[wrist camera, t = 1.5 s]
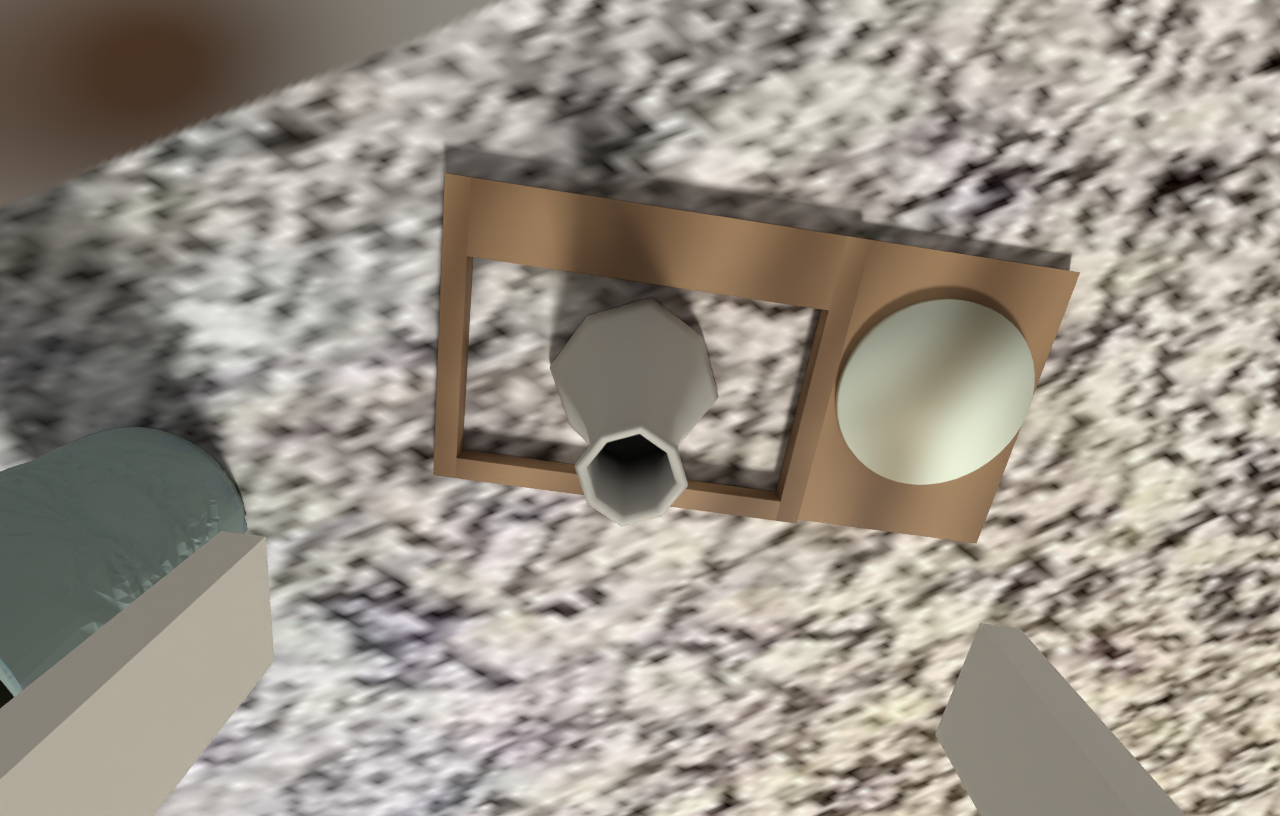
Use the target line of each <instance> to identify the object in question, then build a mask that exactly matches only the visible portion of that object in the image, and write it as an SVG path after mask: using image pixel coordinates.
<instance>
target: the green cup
mask: <svg viewBox="0 0 1280 816" xmlns="http://www.w3.org/2000/svg"><path fill="white" fill-rule="evenodd" d="M245 516H246V513H245V511H244V504H243V502H242V501H241V497H240V495H239V494H238V492H237V489H236V487H235V485H234V483H233V482H232V481H231V479H230V478H229V477H228V475H227V473H226V471H225V470H223V469H221V466H220V464H219V463H217V462H216V461H215V459H214V458H213V457H212V456H210V455H209V454H208V453H206V452H205V451H204V450H203V449H201V448H200V447H198V446H196V445H195V444H193V443H191V442H190V441H187V440H185V439H183V438H181V437H179V436H176V435H174V434H171V433H169V432H166V431H162V430H158V429H154V428H146V427H123V428H115V429H109V430H104V431H101V432H98V433H95V434H92V435H90V436H87V437H84V438H81V439H78V440H75V441H73V442H70V443H67V444H65V445H62V446H60V447H58V448H55V449H53V450H51V451H49V452H47V453H45V454H43V455H42V456H40V457H38V458H36V459H35V460H33V461H30V462H27V463H24V464H20V465H17V466H14V467H11V468H8V469H6V470H4V471H1V472H0V708H2V707H3V706H4V705H5V704H7V703H8V702H9V701H10V700H12V699H13V698H14V697H15V696H17V695H18V694H19V693H20V692H21V691H23V690H24V689H25V688H26V687H28V686H29V685H30V684H31V683H33V682H34V681H35V680H36V679H38V678H39V677H40V676H41V675H43V674H44V673H45V672H46V671H48V670H49V669H50V668H51V667H53V666H54V665H55V664H56V663H58V662H59V661H60V660H61V659H63V658H64V657H65V656H66V655H68V654H69V653H70V652H71V651H72V650H74V649H75V648H76V647H77V646H79V645H80V644H81V643H82V642H84V641H85V640H86V639H87V638H89V637H90V636H91V635H92V634H94V633H95V632H96V631H97V630H99V629H100V628H101V627H102V626H104V625H105V624H106V623H107V622H109V621H110V620H111V619H112V618H114V617H115V616H116V615H117V614H118V613H120V612H121V611H122V610H123V609H125V608H126V607H127V606H128V605H130V604H131V603H132V602H133V601H135V600H136V599H137V598H138V597H140V596H141V595H142V594H143V593H145V592H146V591H147V590H148V589H150V588H151V587H152V586H153V585H155V584H156V583H157V582H158V581H160V580H161V579H162V578H163V577H165V576H166V575H167V574H168V573H169V572H171V571H172V570H173V569H174V568H176V567H177V566H178V565H179V564H181V563H182V562H183V561H184V560H186V559H187V558H188V557H189V556H191V555H192V554H193V553H194V552H196V551H197V550H198V549H199V548H201V547H202V546H203V545H204V544H206V543H207V542H208V541H209V540H211V539H212V538H213V537H214V536H215V535H217V534H218V533H219V532H220V531H225V532H233V533H241V534H245V532H246V531H247V523H246V521H245V519H244V518H245Z"/></svg>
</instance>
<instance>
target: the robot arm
mask: <svg viewBox="0 0 1280 816" xmlns="http://www.w3.org/2000/svg"><path fill="white" fill-rule="evenodd" d="M273 662H274V652H273V637H272V623H271V608H270V593H269V578H268V564H267V549H266V536H258V535H249V534H241V533H233V532H225V531H220V532H219V533H218V534H217V535H215V536H214V537H213V538H212V539H211V540H209V541H208V542H207V543H206V544H204V545H203V546H202V547H201V548H199V549H198V550H197V551H196V552H194V553H193V554H192V555H191V556H189V557H188V558H187V559H186V560H184V561H183V562H182V563H181V564H179V565H178V566H177V567H176V568H174V569H173V570H172V571H171V572H169V573H168V574H167V575H166V576H165V577H163V578H162V579H161V580H160V581H158V582H157V583H156V584H155V585H153V586H152V587H151V588H150V589H148V590H147V591H146V592H145V593H143V594H142V595H141V596H140V597H138V598H137V599H136V600H135V601H133V602H132V603H131V604H130V605H128V606H127V607H126V608H125V609H123V610H122V611H121V612H120V613H118V614H117V615H116V616H115V617H114V618H112V619H111V620H110V621H109V622H107V623H106V624H105V625H104V626H102V627H101V628H100V629H99V630H97V631H96V632H95V633H94V634H92V635H91V636H90V637H89V638H87V639H86V640H85V641H84V642H82V643H81V644H80V645H79V646H77V647H76V648H75V649H74V650H72V651H71V652H70V653H69V654H68V655H66V656H65V657H64V658H63V659H61V660H60V661H59V662H58V663H56V664H55V665H54V666H53V667H51V668H50V669H49V670H48V671H46V672H45V673H44V674H43V675H41V676H40V677H39V678H38V679H36V680H35V681H34V682H33V683H31V684H30V685H29V686H28V687H26V688H25V689H24V690H23V691H21V692H20V693H19V694H18V695H17V696H15V697H14V698H13V699H12V700H10V701H9V702H8V703H7V704H5V705H4V706H3V707H2V708H0V816H153V815H154V814H155V813H156V812H157V810H158V809H159V808H160V806H161V805H162V804H163V803H164V801H165V800H166V799H167V798H168V796H169V795H170V794H171V792H172V791H173V790H174V789H175V787H176V786H177V785H178V783H179V782H180V781H181V780H182V778H183V777H184V776H185V774H186V773H187V772H188V771H189V769H190V768H191V767H192V766H193V764H194V763H195V762H196V760H197V759H198V758H199V757H200V755H201V754H202V753H203V751H204V750H205V749H206V748H207V746H208V745H209V744H210V742H211V741H212V740H213V739H214V737H215V736H216V735H217V733H218V732H219V731H220V730H221V728H222V727H223V726H224V725H225V723H226V722H227V721H228V719H229V718H230V717H231V716H232V714H233V713H234V712H235V710H236V709H237V708H238V707H239V705H240V704H241V703H242V701H243V700H244V699H245V698H246V696H247V695H248V694H249V693H250V691H251V690H252V689H253V687H254V686H255V685H256V684H257V682H258V681H259V680H260V678H261V677H262V676H263V675H264V673H265V672H266V671H267V669H268V668H269V667H270V666H271V664H272V663H273ZM936 736H937V738H938V740H939V742H940V743H941V745H942V747H943V749H944V751H945V752H946V754H947V756H948V758H949V760H950V761H951V763H952V765H953V767H954V769H955V770H956V772H957V774H958V776H959V778H960V779H961V781H962V783H963V785H964V787H965V788H966V790H967V792H968V794H969V796H970V797H971V799H972V801H973V803H974V805H975V806H976V808H977V810H978V812H979V814H980V815H981V816H1186V815H1185V814H1184V813H1183V812H1182V811H1181V810H1180V808H1179V807H1178V806H1177V805H1176V804H1175V803H1174V802H1173V800H1172V799H1171V798H1170V797H1169V796H1168V795H1167V794H1166V793H1165V791H1164V790H1163V789H1162V788H1161V787H1160V786H1159V785H1158V784H1157V782H1156V781H1155V780H1154V779H1153V778H1152V777H1151V776H1150V775H1149V773H1148V772H1147V771H1146V770H1145V769H1144V768H1143V767H1142V766H1141V764H1140V763H1139V762H1138V761H1137V760H1136V759H1135V758H1134V757H1133V755H1132V754H1131V753H1130V752H1129V751H1128V750H1127V749H1126V748H1125V746H1124V745H1123V744H1122V743H1121V742H1120V741H1119V740H1118V739H1117V737H1116V736H1115V735H1114V734H1113V733H1112V732H1111V731H1110V730H1109V728H1108V727H1107V726H1106V725H1105V724H1104V723H1103V722H1102V721H1101V719H1100V718H1099V717H1098V716H1097V715H1096V714H1095V713H1094V712H1093V710H1092V709H1091V708H1090V707H1089V706H1088V705H1087V704H1086V702H1085V701H1084V700H1083V699H1082V698H1081V697H1080V696H1079V695H1078V693H1077V692H1076V691H1075V690H1074V689H1073V688H1072V687H1071V686H1070V684H1069V683H1068V682H1067V681H1066V680H1065V679H1064V678H1063V677H1062V675H1061V674H1060V673H1059V672H1058V671H1057V670H1056V669H1055V668H1054V666H1053V665H1052V664H1051V663H1050V662H1049V661H1048V660H1047V659H1046V657H1045V656H1044V655H1043V654H1042V653H1041V652H1040V651H1039V650H1038V648H1037V647H1036V646H1035V645H1034V644H1033V643H1032V642H1031V641H1030V639H1029V638H1028V637H1027V636H1026V635H1025V634H1024V633H1023V632H1022V630H1021V629H1020V628H1015V627H1007V626H999V625H991V624H982V623H980V625H979V628H978V630H977V633H976V635H975V638H974V640H973V643H972V645H971V648H970V650H969V652H968V655H967V657H966V660H965V662H964V665H963V667H962V670H961V672H960V675H959V677H958V680H957V682H956V685H955V687H954V689H953V692H952V694H951V697H950V699H949V702H948V704H947V707H946V709H945V712H944V714H943V717H942V719H941V721H940V724H939V726H938V729H937V731H936Z"/></svg>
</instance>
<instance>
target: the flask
mask: <svg viewBox="0 0 1280 816" xmlns="http://www.w3.org/2000/svg"><path fill="white" fill-rule="evenodd" d="M550 370H551V373H552V375H553V378H554V381H555V384H556V387H557V390H558V393H559V396H560V398H561V401H562V404H563V407H564V410H565V413H566V416H567V419H568V422H569V424H570V426H571V427H572V428H573V429H574V430H575V431H576V432H577V433H578V434H579V435H580V436H581V437H582V438H583V439H584V440H585V441H586V442H587V443H588V445H589V446H588V448H587V449H586V450H585V451H584V453H583V454H582V455H581V456H580V458H579V459H578V460H577V462H576V463H575V466H574V467H575V470H576V473H577V476H578V478H579V481H580V484H581V487H582V490H583V493H584V495H585V498H586V501H587V504H588V505H590V506H591V507H593V508H594V509H596V510H597V511H599V512H600V513H602V514H603V515H605V516H606V517H608V518H609V519H611V520H612V521H614V522H615V523H617V524H618V525H620V526H625V525H629V524H633V523H637V522H641V521H645V520H649V519H653V518H657V517H661V516H662V515H663V514H664V513H665V512H666V511H667V509H668V508H669V507H670V506H671V505H672V504H673V503H674V501H675V500H676V499H677V498H678V497H679V496H680V495H681V493H682V492H683V491H684V490H685V489H686V488H687V486H688V483H687V479H686V476H685V472H684V469H683V465H682V462H681V458H680V455H679V451H678V445H679V444H680V443H681V441H682V440H683V439H684V438H685V437H686V435H687V434H688V433H689V432H690V431H691V429H692V428H693V427H694V426H695V425H696V424H697V422H698V421H699V420H700V419H701V418H702V416H703V415H704V414H705V413H706V412H707V411H708V409H709V408H710V407H711V406H712V405H713V403H714V402H715V401H716V400H717V399H718V393H717V389H716V385H715V381H714V377H713V373H712V369H711V365H710V361H709V358H708V354H707V350H706V346H705V342H704V338H703V337H702V336H701V335H700V334H698V333H697V332H696V331H695V330H693V329H692V328H691V327H689V326H688V325H687V324H685V323H684V322H683V321H682V320H680V319H679V318H678V317H676V316H675V315H674V314H672V313H671V312H670V311H668V310H667V309H666V308H665V307H663V306H662V305H661V304H659V303H658V302H657V301H655V300H654V299H653V298H651V297H650V298H647V299H643V300H640V301H636V302H633V303H629V304H626V305H622V306H619V307H615V308H612V309H608V310H605V311H601V312H598V313H594V314H591V315H587V316H586V318H585V319H584V320H583V322H582V323H581V325H580V326H579V327H578V329H577V330H576V331H575V333H574V334H573V335H572V337H571V338H570V340H569V341H568V342H567V344H566V345H565V346H564V348H563V349H562V351H561V352H560V353H559V355H558V356H557V357H556V359H555V360H554V361H553V363H552V364H551V366H550Z"/></svg>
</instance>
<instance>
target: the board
mask: <svg viewBox="0 0 1280 816" xmlns="http://www.w3.org/2000/svg"><path fill="white" fill-rule="evenodd" d="M473 257H476V258H483V259H490V260H496V261H503V262H510V263H516V264H523V265H530V266H536V267H543V268H550V269H556V270H563V271H570V272H576V273H583V274H590V275H596V276H603V277H610V278H616V279H623V280H630V281H636V282H643V283H649V284H656V285H663V286H669V287H676V288H683V289H689V290H696V291H703V292H709V293H716V294H723V295H729V296H736V297H743V298H749V299H756V300H763V301H769V302H776V303H783V304H789V305H796V306H803V307H809V308H816V309H821V312H820V316H819V320H818V325H817V329H816V333H815V337H814V341H813V345H812V349H811V353H810V357H809V361H808V365H807V369H806V373H805V377H804V381H803V385H802V389H801V393H800V397H799V401H798V405H797V409H796V413H795V417H794V421H793V425H792V429H791V433H790V437H789V441H788V445H787V450H786V454H785V458H784V462H783V466H782V470H781V474H780V478H779V482H778V486H777V490H776V492H774V491H766V490H759V489H751V488H744V487H737V486H729V485H722V484H715V483H707V482H700V481H692V480H687V483H688V486H687V488H686V489H685V490H684V491H683V492H682V493H681V495H680V496H679V497H678V498H677V499H676V500H675V501H674V503H673V504H672V505H671V506H670V507H678V508H685V509H693V510H700V511H708V512H715V513H723V514H730V515H738V516H745V517H753V518H760V519H768V520H775V521H783V522H790V523H797V520H806V521H813V522H821V523H828V524H836V525H843V526H851V527H858V528H866V529H873V530H881V531H888V532H896V533H903V534H911V535H918V536H926V537H933V538H941V539H948V540H955V541H963V542H970V543H977V540H978V538H979V535H980V533H981V530H982V527H983V525H984V522H985V520H986V517H987V514H988V512H989V509H990V506H991V504H992V501H993V499H994V496H995V493H996V491H997V488H998V486H999V483H1000V480H1001V478H1002V475H1003V473H1004V470H1005V467H1006V465H1007V462H1008V459H1009V457H1010V454H1011V452H1012V449H1013V446H1014V444H1015V441H1016V439H1017V436H1018V433H1019V431H1020V428H1021V425H1022V424H1023V422H1024V420H1025V418H1026V415H1027V413H1028V411H1029V408H1030V405H1031V401H1032V398H1033V394H1034V392H1035V389H1036V386H1037V384H1038V381H1039V378H1040V376H1041V373H1042V371H1043V368H1044V365H1045V363H1046V360H1047V358H1048V355H1049V352H1050V350H1051V347H1052V344H1053V342H1054V339H1055V337H1056V334H1057V331H1058V329H1059V326H1060V324H1061V321H1062V318H1063V316H1064V313H1065V311H1066V308H1067V305H1068V303H1069V300H1070V297H1071V295H1072V292H1073V290H1074V287H1075V284H1076V282H1077V279H1078V277H1079V274H1080V272H1074V271H1068V270H1062V269H1055V268H1049V267H1042V266H1036V265H1030V264H1023V263H1017V262H1010V261H1004V260H998V259H991V258H985V257H978V256H972V255H966V254H959V253H953V252H946V251H940V250H934V249H927V248H921V247H914V246H908V245H902V244H895V243H889V242H882V241H876V240H870V239H863V238H857V237H850V236H844V235H838V234H831V233H825V232H818V231H812V230H806V229H799V228H793V227H786V226H780V225H774V224H767V223H761V222H755V221H748V220H742V219H735V218H729V217H723V216H716V215H710V214H703V213H697V212H691V211H684V210H678V209H671V208H665V207H659V206H652V205H646V204H639V203H633V202H627V201H620V200H614V199H607V198H601V197H595V196H588V195H582V194H575V193H569V192H563V191H556V190H550V189H543V188H537V187H531V186H524V185H518V184H511V183H505V182H499V181H492V180H486V179H480V178H473V177H467V176H460V175H454V174H446V173H445V184H444V211H443V237H442V263H441V290H440V316H439V342H438V368H437V395H436V421H435V447H434V474H433V475H437V476H445V477H452V478H460V479H467V480H475V481H482V482H490V483H497V484H505V485H512V486H520V487H527V488H535V489H542V490H550V491H557V492H565V493H573V494H580V495H584V493H583V490H582V487H581V484H580V481H579V478H578V476H577V473H576V470H575V467H574V466H575V465H574V464H567V463H559V462H552V461H545V460H537V459H530V458H522V457H515V456H508V455H500V454H493V453H485V452H478V451H471V450H463V433H464V415H465V397H466V379H467V360H468V342H469V324H470V306H471V287H472V269H473Z"/></svg>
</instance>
